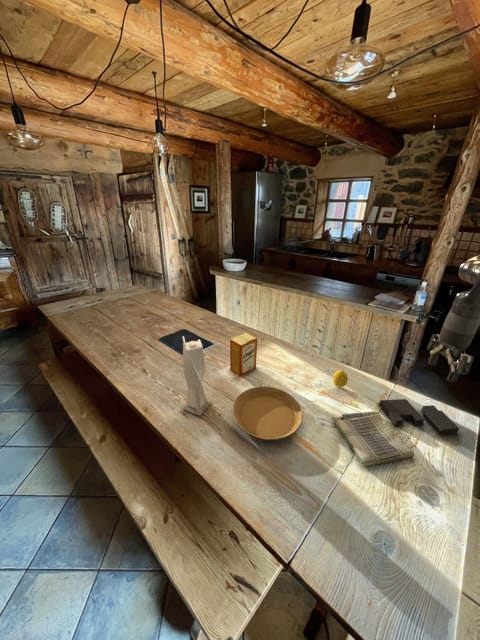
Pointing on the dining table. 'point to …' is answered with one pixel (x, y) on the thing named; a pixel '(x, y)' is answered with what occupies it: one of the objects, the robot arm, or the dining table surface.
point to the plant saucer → (267, 413)
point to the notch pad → (400, 412)
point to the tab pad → (439, 420)
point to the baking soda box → (243, 354)
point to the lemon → (340, 378)
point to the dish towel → (372, 438)
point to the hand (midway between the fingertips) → (440, 372)
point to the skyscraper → (194, 376)
